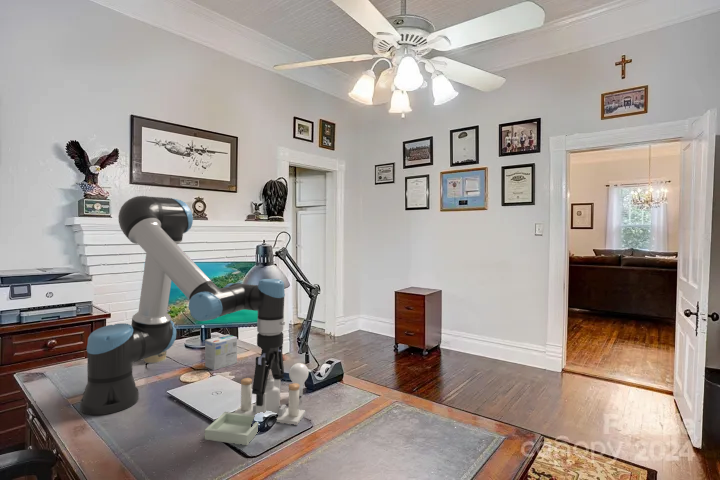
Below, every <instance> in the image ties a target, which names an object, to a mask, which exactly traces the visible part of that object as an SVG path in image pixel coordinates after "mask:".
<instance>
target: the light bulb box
mask: <svg viewBox="0 0 720 480" xmlns="http://www.w3.org/2000/svg"><path fill="white" fill-rule="evenodd" d="M204 347H205V348H204V349H205V350H204V357H205V358H204V367H205V368H208V369H210V370H213V371H216V370H220V369H223V368H225V367H229V366H232V365H235V364H237V363H238V337H237V336H234V335H232V334H228V333H226V334H224V335H223V334H222V335H220V336H216V337H213V338H208V339H205V340H204Z"/></svg>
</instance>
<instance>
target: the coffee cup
mask: <svg viewBox="0 0 720 480" xmlns="http://www.w3.org/2000/svg"><path fill="white" fill-rule="evenodd" d="M167 351H168V350H166V351H164V352H162V353H160V354H158V355H154V356H151V357H148V358H145V359H143V361H144V363H145V364H146V363H147V364H157V363H161V362H165V360H166V358H167Z"/></svg>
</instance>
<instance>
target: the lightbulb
mask: <svg viewBox="0 0 720 480" xmlns="http://www.w3.org/2000/svg"><path fill="white" fill-rule="evenodd" d="M289 368H290V369H289V372H288V375H289V379H290V380H291V382H292V383H297V384H299V385H300V388H299V398H300V397H302V396H303V391H304V389H303V387H304V386H305V382H306V381H307V379H308V377H309V373H310V372H309V368H308V367H307V365H306V364H304V363H303V362H302V363H301V362H296V363H294V364H293V365H292V366H291V367H289Z"/></svg>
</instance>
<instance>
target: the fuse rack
mask: <svg viewBox="0 0 720 480" xmlns="http://www.w3.org/2000/svg"><path fill="white" fill-rule="evenodd" d="M252 383H253V379H252V378H250V377H245V378H241V380H240V384H241V385H240V386H241V387H240V388H241V389H240V390H241V391H240V405H239V407H238V408H236V409H235V411H233V413H239V414H247V415H255V414H256V402H255V403H252V395H253V394H252V389H253V384H252ZM299 388H300V385H299V384H297V383H293V382H292V383H289V384H288V407H287V404H282V405H281V406H279V415H278V416H277V417H276V419H277V422H280V423H279V424H284V423H289V424H288V425H291V424H294V425H293V426H299V424H300V423H301V421H302V419H303V418H304V417H305V415H306V410H305V409H300V397H299ZM300 420H301V421H300ZM298 423H299V424H298Z"/></svg>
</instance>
